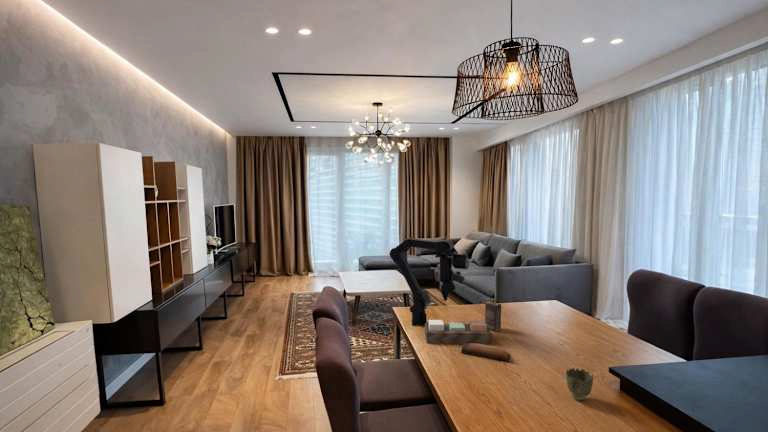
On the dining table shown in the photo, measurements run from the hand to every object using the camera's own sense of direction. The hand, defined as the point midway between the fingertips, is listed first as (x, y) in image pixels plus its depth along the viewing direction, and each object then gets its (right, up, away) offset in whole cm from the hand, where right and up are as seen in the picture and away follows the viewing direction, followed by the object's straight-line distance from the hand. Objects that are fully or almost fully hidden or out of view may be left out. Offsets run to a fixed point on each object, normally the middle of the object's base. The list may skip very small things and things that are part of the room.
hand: (445, 300), depth 170 cm
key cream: (-6, -11, -11) cm, 17 cm away
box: (+22, -13, 0) cm, 26 cm away
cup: (+31, -17, -58) cm, 68 cm away
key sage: (+3, -12, -11) cm, 17 cm away
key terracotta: (+12, -11, -12) cm, 20 cm away
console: (+3, -14, -11) cm, 18 cm away
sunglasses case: (+12, -15, -27) cm, 33 cm away
